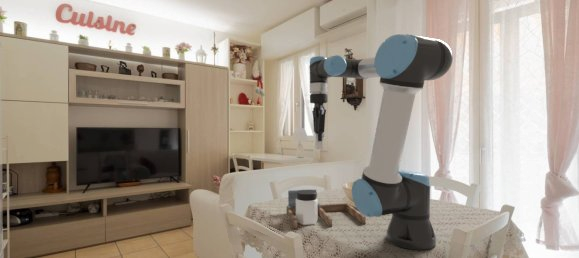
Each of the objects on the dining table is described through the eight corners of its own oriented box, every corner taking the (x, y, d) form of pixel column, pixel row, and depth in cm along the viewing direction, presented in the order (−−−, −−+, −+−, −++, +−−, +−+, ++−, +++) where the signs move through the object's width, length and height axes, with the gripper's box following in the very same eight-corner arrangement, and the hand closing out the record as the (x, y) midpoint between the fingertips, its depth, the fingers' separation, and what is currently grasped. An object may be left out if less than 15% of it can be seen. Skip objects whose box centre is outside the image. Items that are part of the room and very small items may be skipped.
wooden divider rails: (365, 224, 113) (365, 198, 113) (294, 229, 108) (294, 202, 108) (346, 209, 133) (346, 187, 132) (286, 213, 128) (286, 190, 128)
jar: (322, 222, 116) (321, 192, 116) (307, 226, 111) (306, 195, 111) (306, 216, 123) (306, 188, 123) (292, 220, 118) (291, 191, 118)
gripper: (331, 92, 119) (332, 149, 120) (322, 95, 132) (323, 147, 132) (314, 92, 118) (314, 150, 118) (306, 95, 131) (307, 147, 131)
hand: (319, 148), depth 125 cm, fingers closed
